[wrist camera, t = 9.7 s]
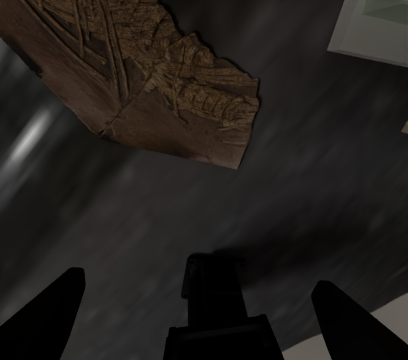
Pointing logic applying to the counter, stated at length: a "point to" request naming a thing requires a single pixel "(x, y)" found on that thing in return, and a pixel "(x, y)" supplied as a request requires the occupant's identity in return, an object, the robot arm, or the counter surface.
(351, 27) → the fulcrum board
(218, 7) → the counter surface
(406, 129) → the beech bar
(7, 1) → the fossil slab
